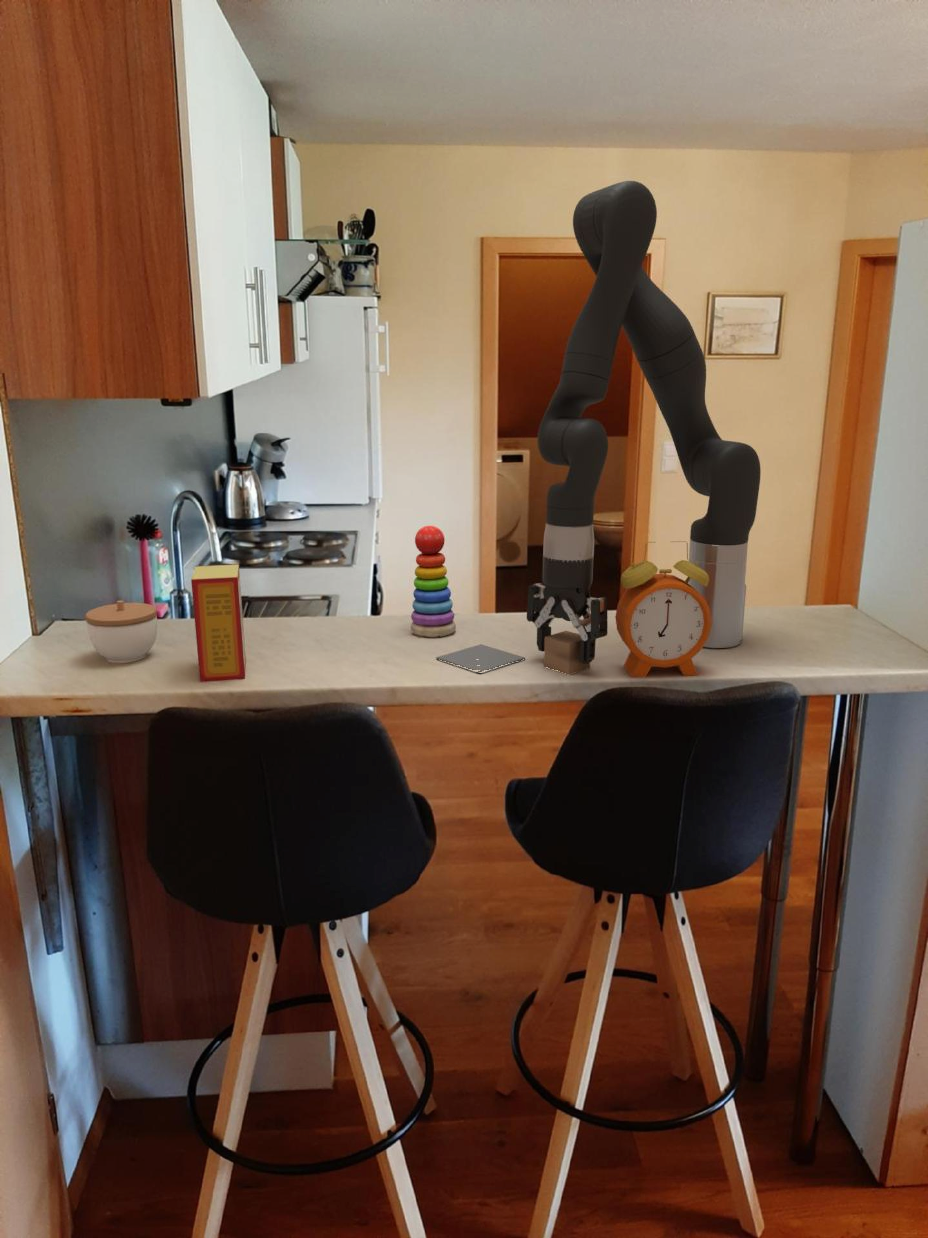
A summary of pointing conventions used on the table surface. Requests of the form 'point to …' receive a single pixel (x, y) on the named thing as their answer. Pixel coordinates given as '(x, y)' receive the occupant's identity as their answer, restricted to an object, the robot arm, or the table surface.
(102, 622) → the lidded jar
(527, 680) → the table surface
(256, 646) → the table surface
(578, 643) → the cube
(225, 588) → the baking soda box
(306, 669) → the table surface
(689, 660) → the alarm clock
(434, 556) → the stacking toy
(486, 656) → the mat
